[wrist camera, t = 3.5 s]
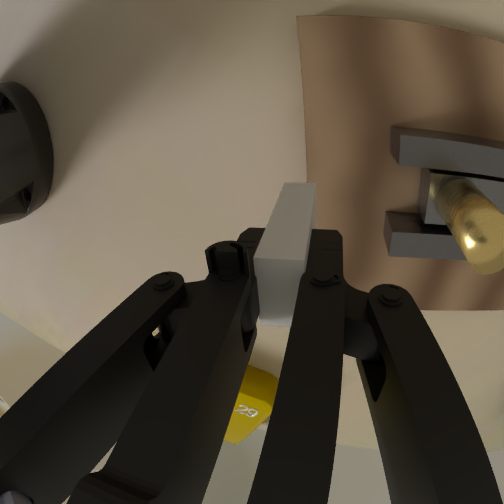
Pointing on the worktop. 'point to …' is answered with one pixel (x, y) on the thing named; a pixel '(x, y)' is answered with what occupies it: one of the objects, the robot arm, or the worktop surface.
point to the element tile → (251, 404)
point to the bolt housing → (445, 158)
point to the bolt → (467, 213)
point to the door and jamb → (378, 139)
